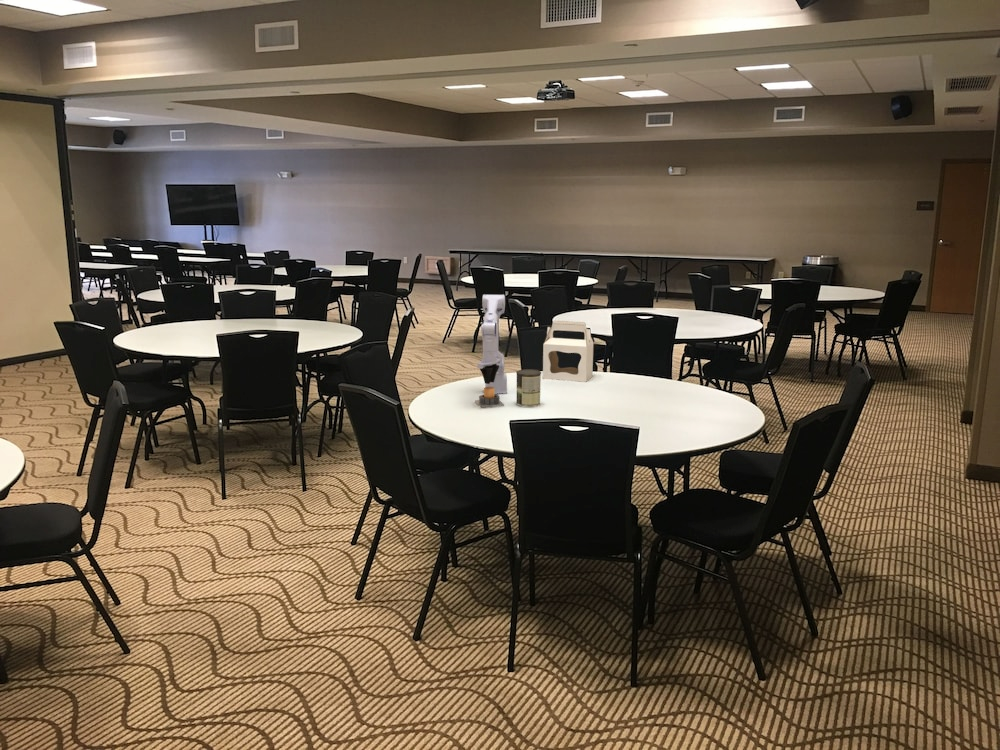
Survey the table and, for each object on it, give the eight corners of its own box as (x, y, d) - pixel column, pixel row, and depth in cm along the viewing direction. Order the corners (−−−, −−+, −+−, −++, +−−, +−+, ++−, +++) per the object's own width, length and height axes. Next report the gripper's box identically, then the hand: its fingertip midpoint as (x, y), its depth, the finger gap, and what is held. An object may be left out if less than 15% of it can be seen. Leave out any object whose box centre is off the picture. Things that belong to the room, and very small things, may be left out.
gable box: (542, 378, 376) (543, 322, 370) (549, 373, 388) (550, 318, 382) (586, 382, 368) (588, 324, 362) (592, 377, 380) (594, 321, 374)
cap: (489, 400, 327) (489, 385, 325) (496, 402, 324) (496, 387, 322) (481, 402, 324) (481, 387, 322) (489, 404, 320) (488, 389, 319)
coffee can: (511, 404, 323) (511, 372, 321) (524, 400, 332) (525, 368, 329) (531, 408, 318) (532, 375, 315) (545, 403, 326) (545, 371, 323)
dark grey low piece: (497, 401, 330) (497, 393, 329) (504, 406, 321) (504, 398, 320) (474, 402, 327) (474, 394, 326) (481, 408, 318) (481, 399, 317)
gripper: (491, 347, 327) (491, 378, 330) (471, 352, 315) (471, 384, 318) (505, 349, 323) (504, 380, 326) (485, 354, 312) (485, 386, 314)
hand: (489, 382), depth 322 cm, fingers open, 3 cm apart
